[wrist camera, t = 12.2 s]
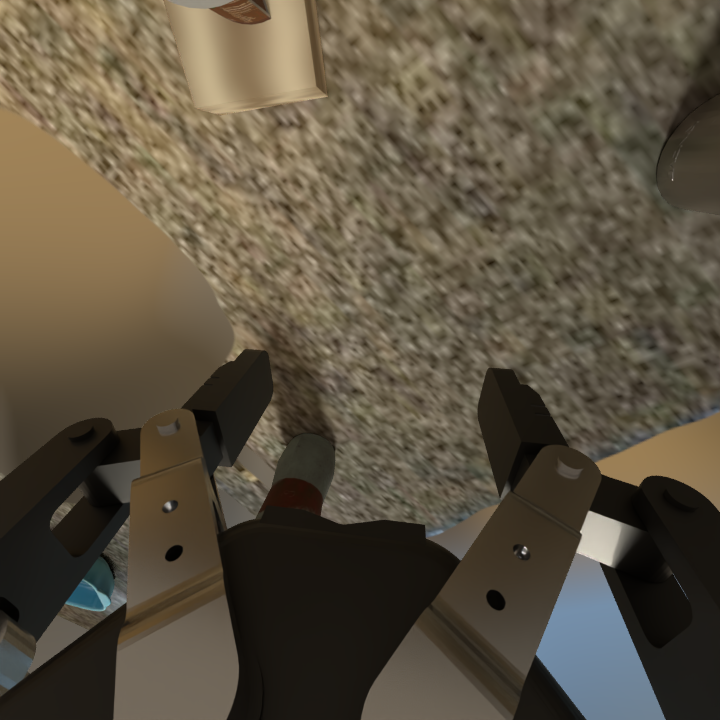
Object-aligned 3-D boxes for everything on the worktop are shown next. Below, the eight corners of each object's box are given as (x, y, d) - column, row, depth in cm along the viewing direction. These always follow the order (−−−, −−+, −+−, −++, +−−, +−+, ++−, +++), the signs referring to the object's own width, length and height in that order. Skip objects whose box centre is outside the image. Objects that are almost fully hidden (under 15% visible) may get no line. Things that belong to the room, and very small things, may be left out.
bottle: (338, 472, 57) (283, 719, 32) (288, 466, 58) (195, 702, 33) (338, 433, 52) (272, 687, 27) (283, 427, 53) (169, 668, 28)
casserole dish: (14, 560, 96) (-12, 587, 90) (-16, 518, 84) (-49, 545, 78) (134, 590, 96) (116, 618, 90) (121, 552, 84) (99, 582, 78)
